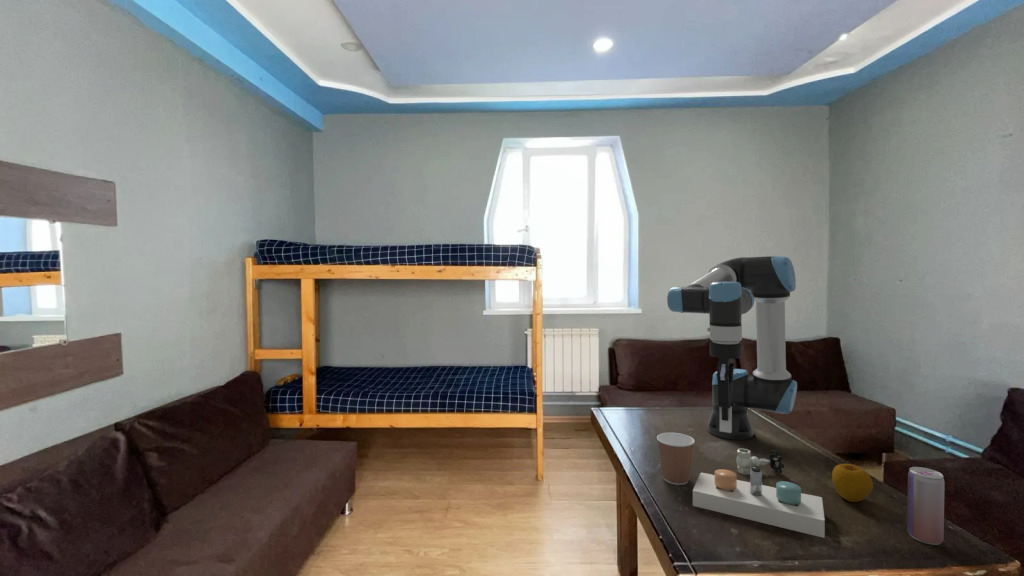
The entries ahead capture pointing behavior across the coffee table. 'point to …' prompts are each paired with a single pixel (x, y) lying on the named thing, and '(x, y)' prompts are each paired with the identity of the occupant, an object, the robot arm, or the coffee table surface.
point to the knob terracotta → (725, 479)
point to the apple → (851, 482)
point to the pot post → (756, 481)
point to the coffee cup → (675, 457)
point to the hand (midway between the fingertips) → (725, 431)
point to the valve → (757, 461)
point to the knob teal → (788, 492)
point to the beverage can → (925, 505)
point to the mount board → (761, 506)
